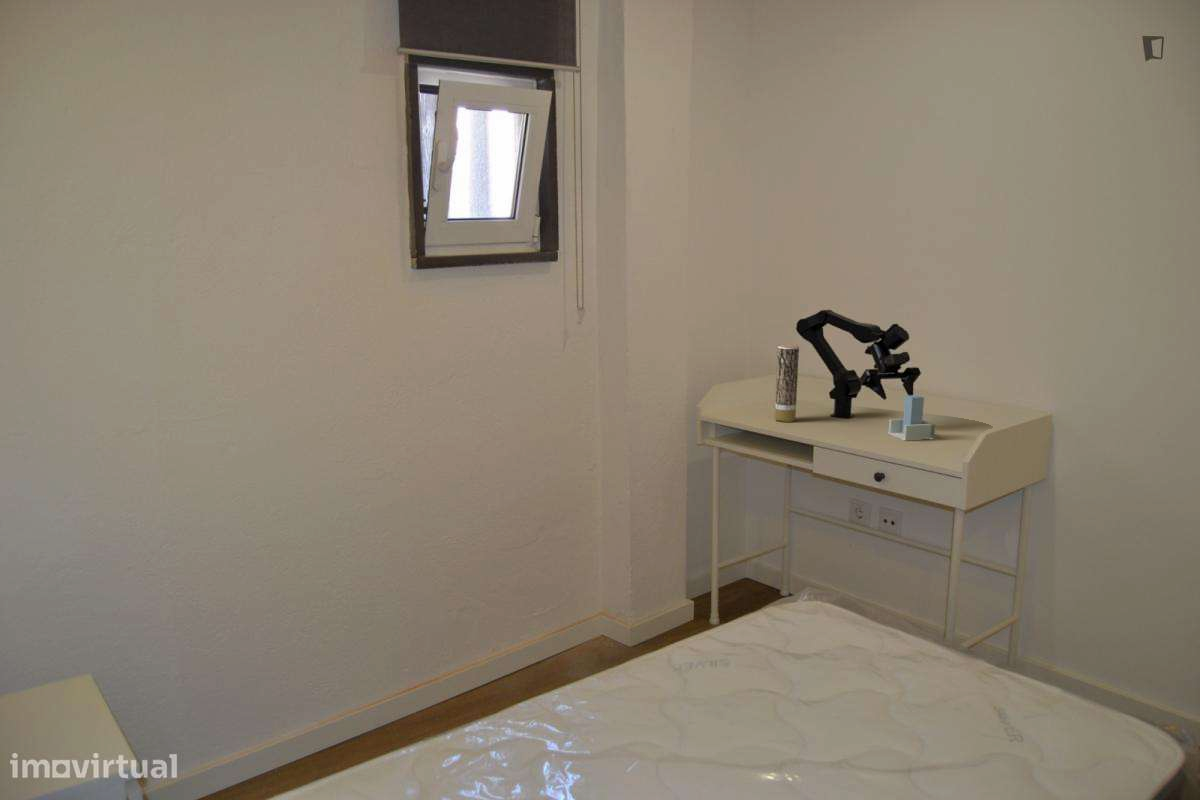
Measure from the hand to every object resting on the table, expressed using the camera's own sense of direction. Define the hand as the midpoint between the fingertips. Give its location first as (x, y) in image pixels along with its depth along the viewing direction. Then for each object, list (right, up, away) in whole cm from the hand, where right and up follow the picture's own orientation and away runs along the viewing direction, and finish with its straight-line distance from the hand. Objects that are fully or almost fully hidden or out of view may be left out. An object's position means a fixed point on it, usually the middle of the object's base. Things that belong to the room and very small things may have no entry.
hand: (898, 398), depth 275 cm
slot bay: (+2, -12, -5) cm, 13 cm away
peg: (+2, -11, -5) cm, 13 cm away
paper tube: (-32, -8, +17) cm, 37 cm away
